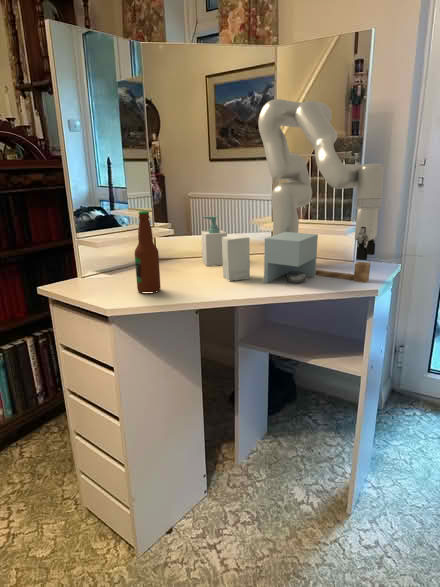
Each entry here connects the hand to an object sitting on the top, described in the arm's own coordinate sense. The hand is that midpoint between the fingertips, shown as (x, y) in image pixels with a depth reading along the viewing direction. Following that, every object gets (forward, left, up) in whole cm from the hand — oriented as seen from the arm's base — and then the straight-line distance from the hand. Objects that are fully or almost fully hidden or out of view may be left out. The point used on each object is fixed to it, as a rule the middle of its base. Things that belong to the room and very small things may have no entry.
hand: (365, 256), depth 134 cm
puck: (-19, -12, -8) cm, 24 cm away
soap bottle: (-59, -3, -9) cm, 59 cm away
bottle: (-55, -46, -9) cm, 72 cm away
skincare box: (-39, -19, -9) cm, 44 cm away
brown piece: (-8, 0, -8) cm, 12 cm away
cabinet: (-22, -11, -8) cm, 26 cm away
